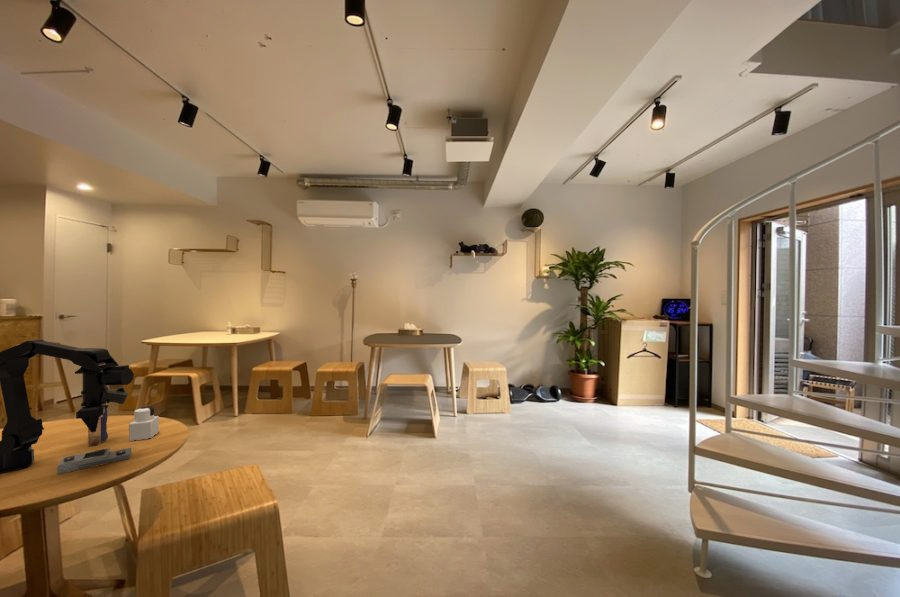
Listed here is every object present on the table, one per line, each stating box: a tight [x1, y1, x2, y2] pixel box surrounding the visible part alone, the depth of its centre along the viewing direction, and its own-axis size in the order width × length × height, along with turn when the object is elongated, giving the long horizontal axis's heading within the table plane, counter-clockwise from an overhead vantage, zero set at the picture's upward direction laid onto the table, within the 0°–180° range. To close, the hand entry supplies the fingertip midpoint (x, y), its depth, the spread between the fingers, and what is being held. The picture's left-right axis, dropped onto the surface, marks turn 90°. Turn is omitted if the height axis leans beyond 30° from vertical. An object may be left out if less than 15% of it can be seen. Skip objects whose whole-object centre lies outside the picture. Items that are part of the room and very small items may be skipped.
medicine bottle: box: [128, 405, 160, 442], centre depth 139 cm, size 7×7×12 cm
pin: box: [87, 415, 103, 448], centre depth 118 cm, size 4×4×10 cm
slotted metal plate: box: [57, 447, 132, 475], centre depth 118 cm, size 17×7×4 cm, turn 130°
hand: (94, 430), depth 118 cm, fingers closed on pin, 3 cm apart
